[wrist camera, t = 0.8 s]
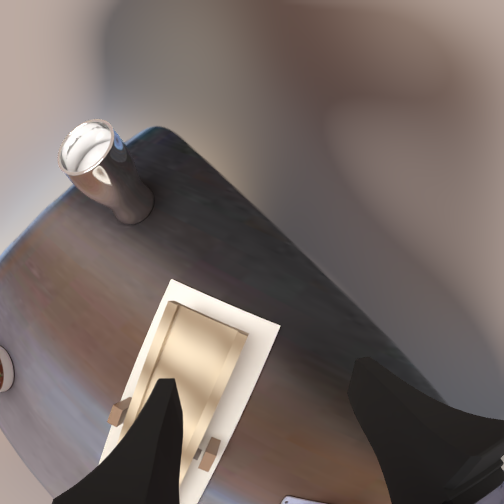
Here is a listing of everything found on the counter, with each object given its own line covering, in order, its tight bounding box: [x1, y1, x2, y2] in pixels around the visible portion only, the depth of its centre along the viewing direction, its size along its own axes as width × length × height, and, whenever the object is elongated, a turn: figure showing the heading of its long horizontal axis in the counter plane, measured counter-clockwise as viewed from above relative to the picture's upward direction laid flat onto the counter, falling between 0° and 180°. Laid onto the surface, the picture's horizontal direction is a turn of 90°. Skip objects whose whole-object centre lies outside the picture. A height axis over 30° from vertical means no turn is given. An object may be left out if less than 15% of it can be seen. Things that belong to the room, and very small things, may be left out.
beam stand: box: [99, 279, 280, 504], centre depth 30 cm, size 34×14×6 cm, turn 157°
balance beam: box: [117, 301, 249, 487], centre depth 27 cm, size 30×9×3 cm, turn 157°
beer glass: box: [58, 119, 154, 225], centre depth 32 cm, size 7×7×15 cm
